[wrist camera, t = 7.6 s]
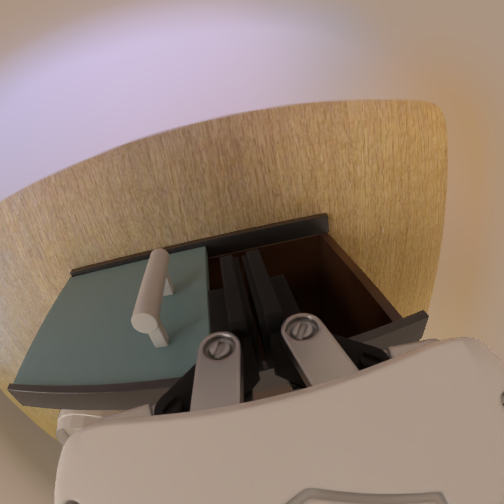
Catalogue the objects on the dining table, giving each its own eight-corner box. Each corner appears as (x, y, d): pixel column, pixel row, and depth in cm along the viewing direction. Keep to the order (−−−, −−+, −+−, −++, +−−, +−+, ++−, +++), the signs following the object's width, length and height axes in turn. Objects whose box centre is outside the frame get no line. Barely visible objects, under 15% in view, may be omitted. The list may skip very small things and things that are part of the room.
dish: (51, 425, 38) (47, 443, 34) (73, 387, 33) (66, 412, 28) (140, 460, 47) (140, 478, 43) (189, 434, 42) (191, 457, 38)
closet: (72, 269, 24) (6, 389, 11) (325, 212, 26) (429, 315, 12) (122, 357, 31) (104, 469, 17) (327, 316, 33) (384, 423, 19)
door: (57, 250, 22) (-15, 352, 10) (197, 213, 23) (193, 329, 11) (74, 285, 24) (20, 393, 12) (207, 255, 25) (217, 384, 13)
